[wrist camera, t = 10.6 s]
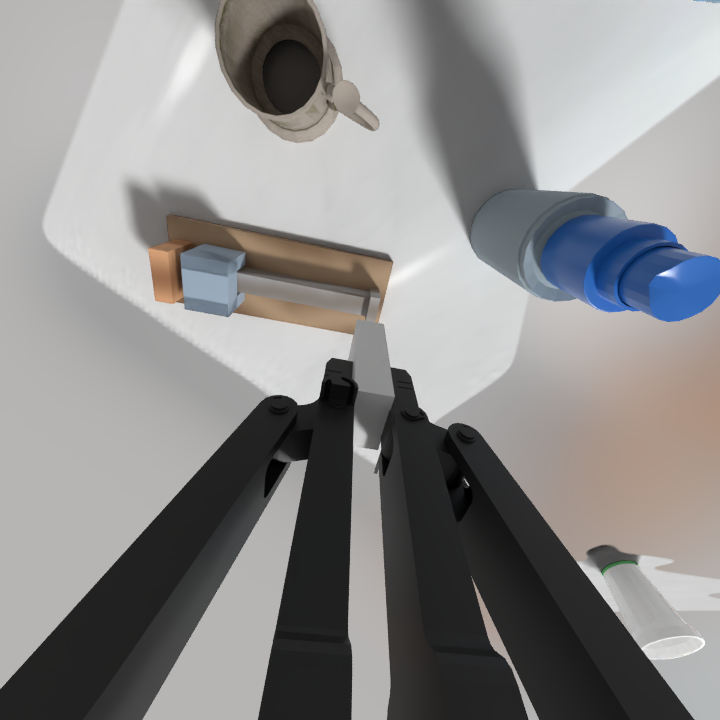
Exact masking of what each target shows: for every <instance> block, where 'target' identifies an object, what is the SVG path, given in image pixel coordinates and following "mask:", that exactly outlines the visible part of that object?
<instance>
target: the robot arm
mask: <svg viewBox="0 0 720 720" xmlns="http://www.w3.org/2000/svg"><path fill="white" fill-rule="evenodd" d="M694 1H706V2H712V3H720V0H694ZM380 442H381V452H380V455H379V458H378V461H377V464H376V468H375V472H374V473H377V472H378V469H379V477H380V496H381V513H382V532H383V548H384V549H383V550H384V568H385V586H386V605H387V620H388V621H387V622H388V641H389V659H390V675H391V676H390V677H391V689H390V698H389V705H388V715H387V716H388V717H387V720H528V717H527V713H526V710H525V707H524V704H523V700H522V697H521V694H520V691H519V687H518V684H517V682H516V679H515V677H514V674H513V671H512V669H511V667H510V666H509V665H508V663H507V661H506V659H505V658H504V657H502V656H501V655H500V654H498V653H497V652H496V651H495V650H494V649H493V647H492V646H491V644H490V641H489V639H488V636H487V632H486V628H485V625H484V621H483V618H482V614H481V611H480V607H479V603H478V599H477V596H476V592H475V588H474V585H473V581H472V578H473V580H474V582H475V584H476V587H477V589H478V591H479V593H480V595H481V597H482V599H483V601H484V603H485V605H486V608H487V610H488V612H489V614H490V616H491V618H492V620H493V622H494V625H495V627H496V629H497V631H498V633H499V635H500V637H501V639H502V642H503V644H504V646H505V647H506V650H507V652H508V654H509V656H510V659H511V660H512V663H513V665H514V667H515V669H516V671H517V673H518V675H519V678H520V680H521V682H522V684H523V686H524V688H525V690H526V692H527V694H528V696H529V699H530V701H531V703H532V705H533V707H534V709H535V711H536V713H537V716H538V718H539V720H694V719H693V717H692V716H691V715H690V713H689V712H688V711H687V710H686V708H685V707H684V705H683V704H682V703H681V701H680V700H679V699H678V697H677V696H676V695H675V693H674V692H673V691H672V689H671V688H670V687H669V685H668V684H667V683H666V681H665V680H664V679H663V677H662V676H661V675H660V673H659V672H658V671H657V669H656V668H655V667H654V665H653V664H652V663H651V662H650V660H649V659H648V657H647V656H646V655H645V653H644V652H643V651H642V649H641V648H640V647H639V645H638V644H637V643H636V641H635V640H634V639H633V637H632V636H631V635H630V633H629V632H628V631H627V629H626V628H625V627H624V625H623V624H622V623H621V621H620V620H619V619H618V617H617V616H616V615H615V613H614V612H613V611H612V609H611V608H610V607H609V605H608V604H607V603H606V601H605V600H604V599H603V597H602V596H601V594H600V593H599V592H598V590H597V589H596V588H595V586H594V585H593V584H592V582H591V581H590V580H589V578H588V577H587V576H586V574H585V573H584V572H583V570H582V569H581V568H580V566H579V565H578V564H577V562H576V561H575V560H574V558H573V557H572V556H571V554H570V553H569V552H568V550H567V549H566V548H565V546H564V545H563V544H562V543H561V541H560V540H559V538H558V537H557V536H556V534H555V533H554V532H553V530H552V529H551V528H550V526H549V525H548V524H547V523H546V521H545V520H544V519H543V517H542V516H541V514H540V513H539V512H538V511H537V509H536V508H535V506H534V505H533V504H532V502H531V501H530V500H529V498H528V497H527V496H526V494H525V493H524V492H523V490H522V489H521V488H520V486H519V485H518V484H517V482H516V481H515V480H514V479H513V477H512V476H511V475H510V473H509V472H508V470H507V469H506V468H505V466H504V465H503V464H502V462H501V461H500V460H499V458H498V457H497V456H496V454H495V453H494V452H493V450H492V449H491V448H490V446H489V445H488V444H487V442H486V441H485V440H484V438H483V437H482V436H481V434H479V432H478V431H477V430H475V429H474V428H472V427H470V426H468V425H465V424H460V423H455V424H452V425H450V426H449V428H448V430H447V429H444V428H442V427H439V426H436V425H434V424H432V423H430V422H429V420H428V417H427V415H426V413H425V412H424V411H423V410H422V409H421V408H419V407H418V403H417V399H416V395H415V391H414V387H413V383H412V379H411V376H410V375H409V374H408V373H407V371H406V370H402V369H397V368H391V367H390V362H389V355H388V349H387V342H386V335H385V329H384V324H380V323H375V322H369V321H364V320H359V319H357V321H356V326H355V331H354V335H353V340H352V345H351V350H350V354H349V359H348V361H347V360H341V359H335V358H331V359H330V360H329V361H328V362H327V363H326V369H325V374H324V379H323V381H322V386H321V392H320V397H319V399H318V400H317V401H315V402H313V403H311V404H307V405H297V403H296V402H295V401H294V400H293V399H292V398H289V397H287V396H282V395H274V396H270V397H267V398H265V399H264V400H263V401H261V402H260V403H259V405H258V406H257V407H256V408H255V409H254V410H253V411H252V412H251V413H250V415H249V416H248V417H247V418H246V419H245V420H244V421H243V422H242V423H241V424H240V426H239V427H238V428H237V429H236V430H235V431H234V432H233V433H232V434H231V435H230V437H229V438H228V439H227V440H226V441H225V442H224V443H223V444H222V445H221V447H220V448H219V449H218V450H217V451H216V452H215V453H214V454H213V455H212V456H211V457H210V459H209V460H208V461H207V462H206V463H205V464H204V465H203V467H201V469H200V470H199V471H198V472H197V473H196V474H195V475H194V476H193V477H192V478H191V480H190V481H189V482H188V483H187V484H186V485H185V486H184V487H183V488H182V490H181V491H180V492H179V493H178V494H177V495H176V496H175V497H174V498H173V499H172V501H171V502H170V503H169V504H168V505H167V506H166V507H165V508H164V509H163V510H162V512H161V513H160V514H159V515H158V516H157V517H156V518H155V519H154V520H153V521H152V523H151V524H150V525H149V526H148V527H147V528H146V529H145V530H144V531H143V533H142V534H141V535H140V536H139V537H138V538H137V539H136V540H135V541H134V542H133V544H132V545H131V546H130V547H129V548H128V549H127V550H126V551H125V553H123V555H122V556H121V557H120V558H119V559H118V560H117V561H116V562H115V563H114V565H113V566H112V567H111V568H110V569H109V570H108V571H107V572H106V573H105V574H104V576H103V577H102V578H101V579H100V580H99V581H98V582H97V584H95V585H94V587H93V588H92V589H91V590H90V591H89V592H88V593H87V594H86V596H85V597H84V598H83V599H82V600H81V601H80V602H79V603H78V604H77V605H76V606H75V608H74V609H73V610H72V611H71V612H70V613H69V614H68V615H67V616H66V618H65V619H64V620H63V621H62V622H61V623H60V624H59V625H58V626H57V628H56V629H55V630H54V631H53V632H52V633H51V634H50V635H49V636H48V637H47V638H46V640H45V641H44V642H43V643H42V644H41V645H40V646H39V647H38V648H37V649H36V651H35V652H34V653H33V654H32V655H31V656H30V657H29V658H28V659H27V661H26V662H25V663H24V664H23V665H22V666H21V667H20V668H19V669H18V670H17V672H16V673H15V674H14V675H13V676H12V677H11V678H10V679H9V680H8V682H7V683H6V684H5V685H4V686H3V687H2V688H1V689H0V720H142V719H143V717H144V716H145V714H146V712H147V711H148V709H149V707H150V705H151V704H152V702H153V700H154V698H155V697H156V695H157V693H158V692H159V690H160V688H161V686H162V685H163V683H164V681H165V680H166V678H167V676H168V674H169V672H170V671H171V669H172V668H173V666H174V664H175V662H176V661H177V659H178V657H179V655H180V653H181V652H182V650H183V648H184V647H185V645H186V643H187V642H188V640H189V638H190V637H191V635H192V633H193V631H194V630H195V628H196V626H197V625H198V623H199V621H200V619H201V618H202V616H203V614H204V612H205V611H206V609H207V607H208V606H209V604H210V602H211V600H212V599H213V597H214V595H215V594H216V592H217V590H218V588H219V587H220V585H221V583H222V581H223V580H224V578H225V576H226V574H227V573H228V571H229V569H230V568H231V566H232V564H233V563H234V561H235V559H236V557H237V556H238V554H239V552H240V551H241V549H242V547H243V545H244V544H245V542H246V540H247V538H248V537H249V535H250V533H251V532H252V530H253V528H254V526H255V524H256V523H257V521H258V520H259V518H260V516H261V514H262V512H263V511H264V509H265V508H266V506H267V504H268V502H269V501H270V499H271V497H272V495H273V494H274V492H275V490H276V489H277V487H278V485H279V483H280V482H281V480H282V478H283V477H284V475H285V473H286V471H287V470H288V468H289V466H290V464H291V461H298V460H306V459H308V462H307V467H306V472H305V478H304V483H303V488H302V493H301V499H300V504H299V509H298V515H297V520H296V525H295V530H294V536H293V541H292V546H291V551H290V557H289V562H288V568H287V572H286V578H285V583H284V589H283V594H282V599H281V604H280V610H279V615H278V620H277V625H276V631H275V635H274V639H273V645H272V649H271V654H270V659H269V665H268V670H267V675H266V680H265V686H264V691H263V696H262V701H261V706H260V712H259V717H258V720H351V708H352V703H351V702H352V650H351V643H350V640H349V638H348V601H349V568H350V567H349V566H350V534H351V499H352V466H353V446H355V447H362V448H369V449H376V450H378V448H379V445H380ZM464 479H466V481H467V482H468V484H469V486H468V485H467V484H466V482H465V480H464ZM471 576H472V577H471Z"/></svg>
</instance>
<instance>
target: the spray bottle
mask: <svg viewBox="0 0 720 720" xmlns="http://www.w3.org/2000/svg"><path fill="white" fill-rule="evenodd" d="M470 240H471V244H472V249H473V251H474V252H475V254H476V255H477V257H478V258H479V259H481V260H482V261H483V262H485V263H486V264H488V265H489V266H491V267H492V268H494V269H495V270H497V271H498V272H500V273H501V274H503V275H504V276H506V277H507V278H509V279H510V280H512V281H513V282H515V283H516V284H518V285H519V286H521V287H522V288H524V289H525V290H527V291H528V292H530V293H531V294H533V295H534V296H536V297H539V298H542V299H546V300H553V301H568V300H573V299H576V298H577V299H579V300H581V301H583V302H585V303H587V304H589V305H590V306H592V307H594V308H596V309H597V310H601V311H605V312H620V311H625V310H630V311H642V312H644V313H646V314H649V315H651V316H653V317H655V318H657V319H659V320H663V321H667V322H671V321H680V320H683V319H686V318H689V317H692V316H694V315H695V314H698V313H700V312H702V311H703V310H704V309H706V308H707V307H708V306H710V305H711V304H712V303H713V302H714V300H716V298H717V297H718V296H719V294H720V260H719V259H718V258H715V257H711V256H708V255H703V254H698V253H694V252H689V251H688V250H687V249H686V248H685V247H684V246H683V245H681V244H678V242H677V239H676V236H675V235H674V234H673V233H672V232H671V231H670V230H669V229H668V228H667V227H664V226H661V225H657V224H654V223H648V222H641V221H634V220H628V219H627V217H626V214H625V211H624V210H623V209H622V208H620V207H619V206H618V205H617V204H616V203H615V202H614V201H611V200H609V198H606V197H603V196H599V195H596V194H593V193H577V192H560V191H543V190H526V189H513V190H505V191H503V192H501V193H498V194H496V195H494V196H493V197H492V198H490V199H489V200H488V201H487V202H485V203H484V204H483V206H482V207H481V208H480V210H479V211H478V212H477V214H476V216H475V218H474V221H473V223H472V226H471V235H470Z"/></svg>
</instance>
